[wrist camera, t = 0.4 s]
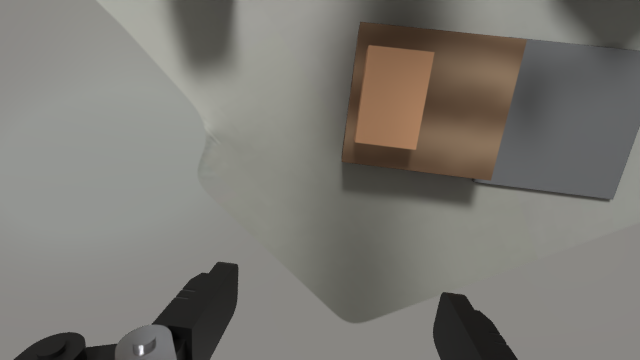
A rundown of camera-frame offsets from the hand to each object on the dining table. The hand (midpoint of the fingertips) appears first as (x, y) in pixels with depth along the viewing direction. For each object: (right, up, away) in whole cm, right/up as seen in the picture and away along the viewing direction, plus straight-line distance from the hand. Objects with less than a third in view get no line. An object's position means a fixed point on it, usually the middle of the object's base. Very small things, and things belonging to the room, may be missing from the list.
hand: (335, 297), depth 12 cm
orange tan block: (+7, +13, +19) cm, 24 cm away
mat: (+27, +11, +22) cm, 36 cm away
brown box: (+11, +13, +23) cm, 28 cm away
